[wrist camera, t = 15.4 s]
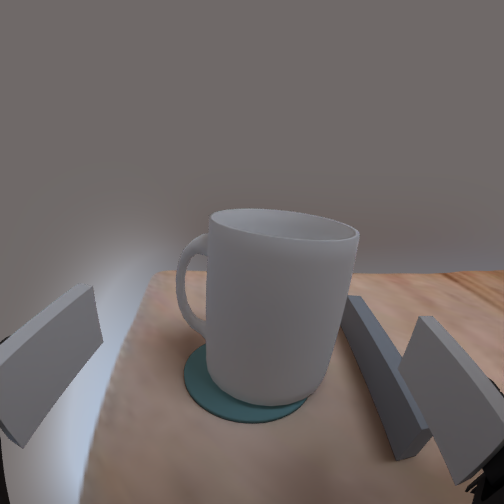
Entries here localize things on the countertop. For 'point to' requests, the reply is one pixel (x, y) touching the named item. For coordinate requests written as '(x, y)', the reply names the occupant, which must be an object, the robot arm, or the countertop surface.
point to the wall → (384, 379)
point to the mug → (270, 300)
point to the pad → (227, 396)
